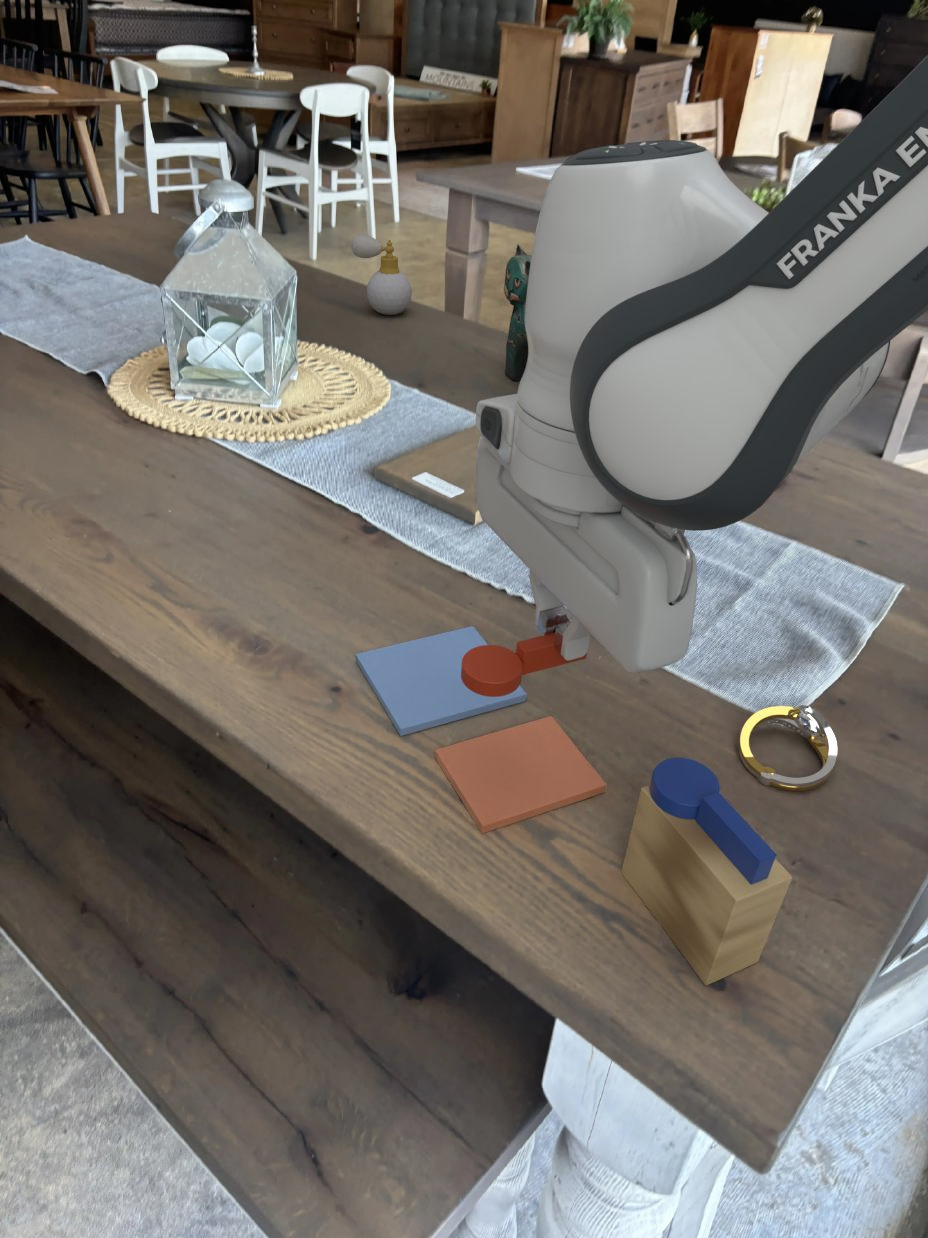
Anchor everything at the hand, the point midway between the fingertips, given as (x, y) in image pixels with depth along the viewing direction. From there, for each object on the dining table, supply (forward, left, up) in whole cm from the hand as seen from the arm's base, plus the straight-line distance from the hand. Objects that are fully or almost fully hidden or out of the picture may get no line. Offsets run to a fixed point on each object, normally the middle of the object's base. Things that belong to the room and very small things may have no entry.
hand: (559, 641), depth 61 cm
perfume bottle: (+104, -28, -12) cm, 108 cm away
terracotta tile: (0, +2, -12) cm, 12 cm away
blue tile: (+12, +3, -12) cm, 17 cm away
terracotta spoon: (0, +2, -2) cm, 3 cm away
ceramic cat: (+64, -36, -12) cm, 74 cm away
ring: (-8, -14, -11) cm, 20 cm away
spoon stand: (-15, -2, -12) cm, 19 cm away
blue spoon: (-15, -2, -4) cm, 16 cm away
